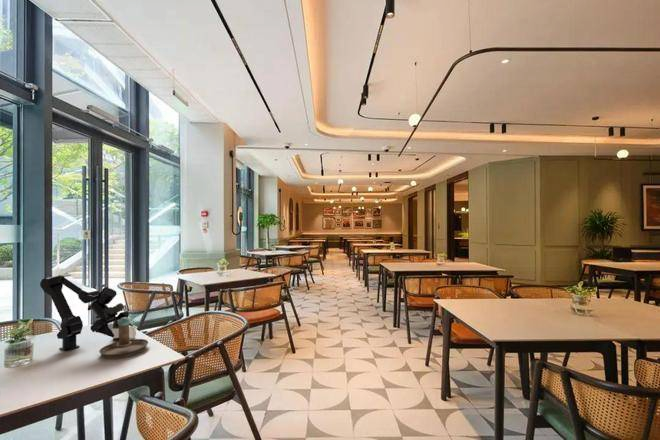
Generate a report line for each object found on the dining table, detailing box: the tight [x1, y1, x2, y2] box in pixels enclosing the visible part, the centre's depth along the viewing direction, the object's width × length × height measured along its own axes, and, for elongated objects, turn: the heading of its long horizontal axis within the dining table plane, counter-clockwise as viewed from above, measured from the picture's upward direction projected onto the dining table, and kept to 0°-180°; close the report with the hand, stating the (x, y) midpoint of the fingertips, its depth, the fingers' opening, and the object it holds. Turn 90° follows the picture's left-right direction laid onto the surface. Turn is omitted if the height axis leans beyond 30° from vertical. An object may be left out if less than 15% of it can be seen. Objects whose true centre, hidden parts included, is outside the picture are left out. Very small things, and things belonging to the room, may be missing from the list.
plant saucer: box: [98, 338, 149, 359], centre depth 167 cm, size 21×21×3 cm
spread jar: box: [112, 321, 137, 341], centre depth 188 cm, size 12×11×12 cm
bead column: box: [117, 317, 132, 348], centre depth 167 cm, size 6×6×14 cm
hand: (121, 333), depth 167 cm, fingers open, 9 cm apart
